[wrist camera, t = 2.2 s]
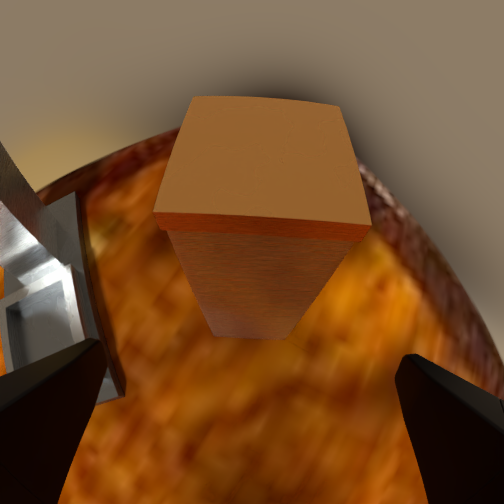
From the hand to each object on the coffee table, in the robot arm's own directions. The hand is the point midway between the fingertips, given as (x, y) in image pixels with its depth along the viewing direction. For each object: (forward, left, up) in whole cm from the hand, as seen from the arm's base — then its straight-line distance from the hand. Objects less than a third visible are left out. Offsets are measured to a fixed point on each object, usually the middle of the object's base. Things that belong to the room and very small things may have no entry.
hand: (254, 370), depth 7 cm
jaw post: (+3, -5, -12) cm, 13 cm away
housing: (+18, +5, -12) cm, 22 cm away
